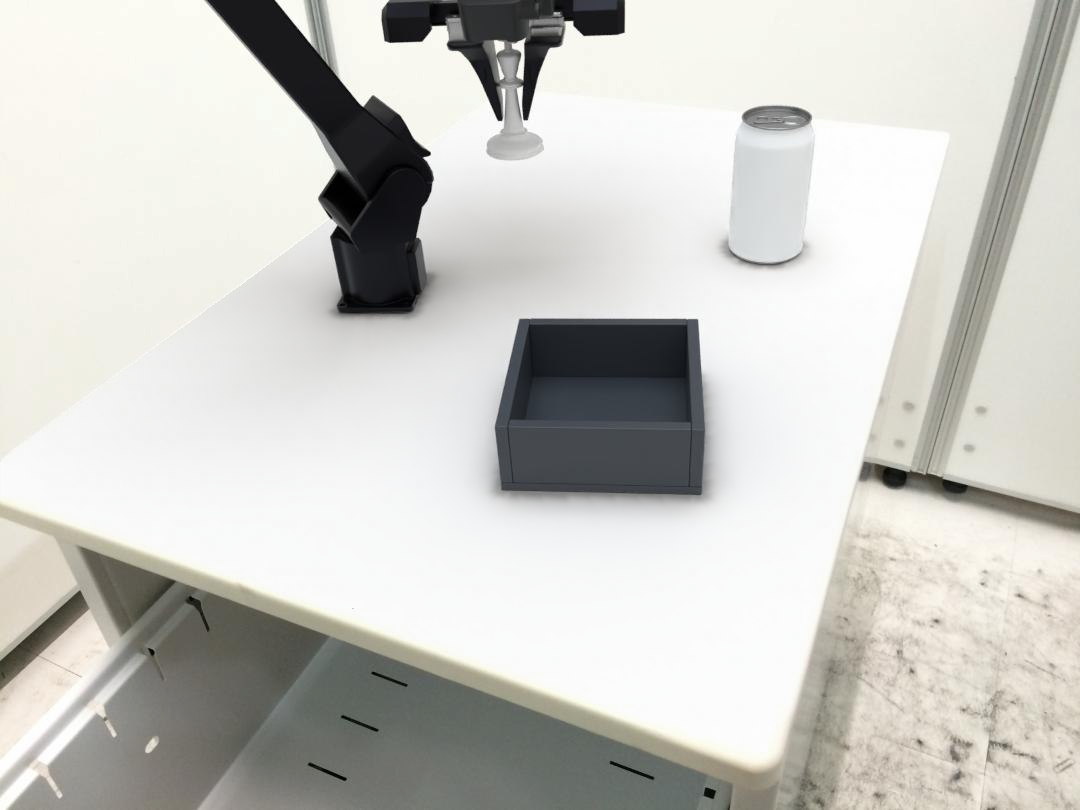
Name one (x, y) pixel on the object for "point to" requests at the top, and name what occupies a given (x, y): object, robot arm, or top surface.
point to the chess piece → (512, 114)
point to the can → (771, 183)
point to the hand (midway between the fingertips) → (513, 119)
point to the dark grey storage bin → (603, 407)
